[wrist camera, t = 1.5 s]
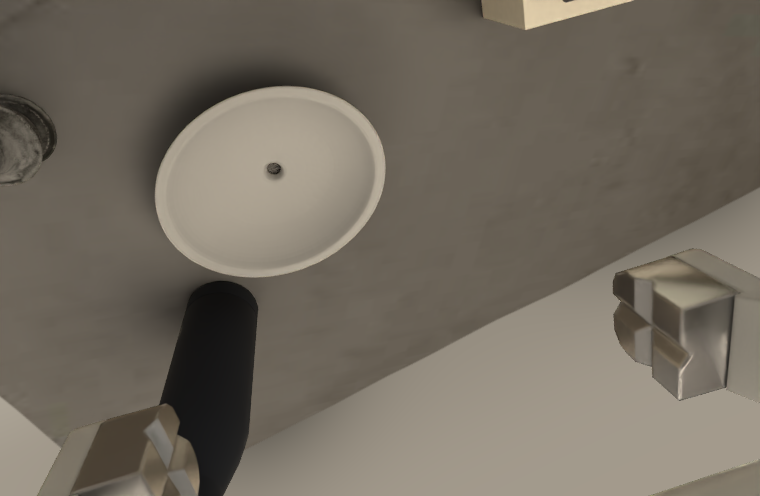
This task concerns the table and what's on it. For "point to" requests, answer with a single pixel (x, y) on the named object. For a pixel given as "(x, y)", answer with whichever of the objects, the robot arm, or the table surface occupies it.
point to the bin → (540, 10)
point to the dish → (270, 181)
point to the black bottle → (214, 379)
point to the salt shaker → (23, 139)
